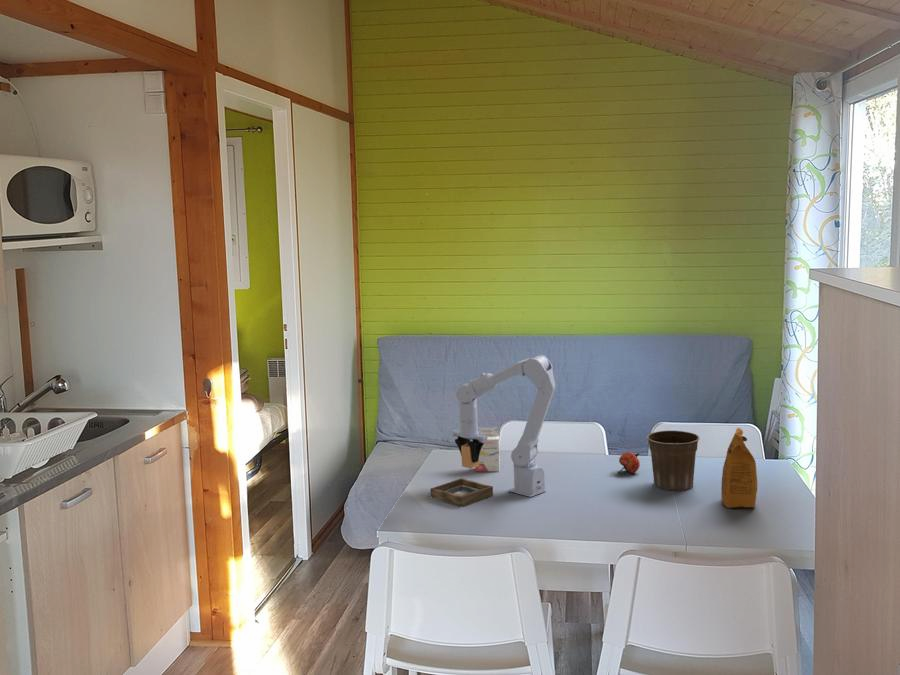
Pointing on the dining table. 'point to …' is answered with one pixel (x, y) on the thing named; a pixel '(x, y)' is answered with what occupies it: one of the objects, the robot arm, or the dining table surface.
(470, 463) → the tan tall block
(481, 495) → the walled box
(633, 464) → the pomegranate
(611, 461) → the dining table surface
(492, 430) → the ink cartridge box
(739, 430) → the coffee package
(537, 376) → the robot arm
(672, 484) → the plant pot
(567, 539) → the dining table surface
